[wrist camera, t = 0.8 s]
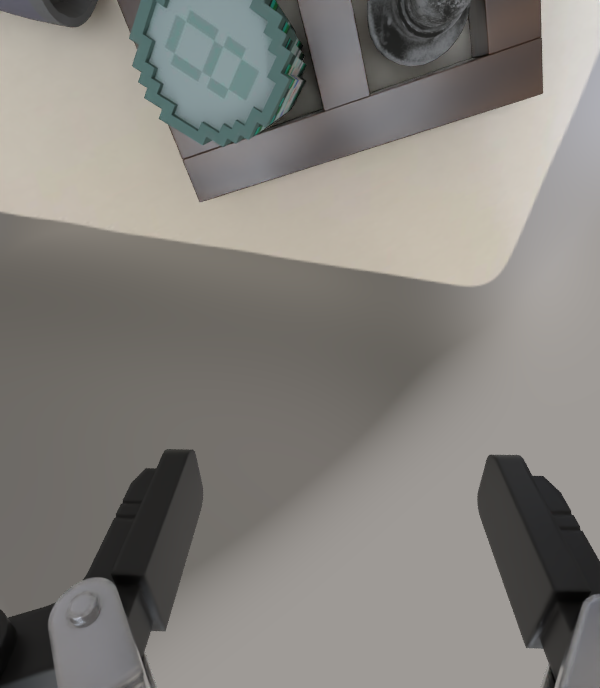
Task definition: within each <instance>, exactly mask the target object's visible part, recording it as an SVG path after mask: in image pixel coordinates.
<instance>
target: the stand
mask: <svg viewBox="0 0 600 688" xmlns="http://www.w3.org/2000/svg"><path fill="white" fill-rule="evenodd" d="M117 1H118V4H119V6H120V8H121V11H122V13H123V16H124V18H125V21H126V23H127V26H128V28H129V30H130V33H131V30H132V27H133V24H134V21H135V17H136V14H137V11H138V8H139V4H140V1H141V0H117ZM297 1H298V5H299V9H300V13H301V18H302V22H303V26H304V30H305V34H306V38H307V42H308V46H309V50H310V54H311V58H312V62H313V66H314V71H315V75H316V79H317V83H318V87H319V91H320V95H321V99H322V103H323V107H324V109H323V110H320V111H317V112H314V113H311V114H308V115H305V116H302V117H299V118H296V119H293V120H291V121H288V122H285V123H282V124H279V125H276V126H273V127H270V128H267V129H264V130H262V131H261V132H259V133H258V134H256V135H255V136H254V137H252V138H251V139H249V140H247V139H246V138H244V139H242V140H241V141H239V142H238V143H236V144H235V143H234V142H231V143H230V144H228V145H226V146H225V147H222V146H220V145H219V144H217V143H216V142H214V141H211V142H209V143H207V144H205V145H203V146H202V145H201V144H199V143H197V142H196V141H194V140H193V139H191V138H189V137H188V136H186V135H185V134H183V133H181V132H180V131H178V130H177V129H175V128H173V127H172V126H170V125H169V128H170V130H171V133H172V135H173V138H174V140H175V143H176V145H177V147H178V150H179V152H180V155H181V157H182V159H183V162H184V165H185V167H186V170H187V172H188V175H189V177H190V180H191V182H192V184H193V187H194V189H195V192H196V194H197V197H198V199H199V201H200V202H203V201H206V200H209V199H212V198H216V197H219V196H222V195H225V194H228V193H231V192H234V191H238V190H241V189H244V188H247V187H250V186H253V185H256V184H260V183H263V182H266V181H269V180H272V179H275V178H279V177H282V176H285V175H288V174H291V173H294V172H297V171H301V170H304V169H307V168H310V167H313V166H316V165H319V164H323V163H326V162H329V161H332V160H335V159H338V158H342V157H345V156H348V155H351V154H354V153H357V152H360V151H364V150H367V149H370V148H373V147H376V146H379V145H382V144H386V143H389V142H392V141H395V140H398V139H401V138H405V137H408V136H411V135H414V134H417V133H420V132H423V131H427V130H430V129H433V128H436V127H439V126H442V125H445V124H449V123H452V122H455V121H458V120H461V119H464V118H468V117H471V116H474V115H477V114H480V113H483V112H486V111H490V110H493V109H496V108H499V107H502V106H505V105H508V104H512V103H515V102H518V101H521V100H524V99H527V98H531V97H534V96H537V95H540V94H542V93H543V76H542V38H541V0H471V5H470V10H469V24H470V36H471V47H472V57H473V58H471V59H468V60H466V61H463V62H460V63H457V64H454V65H451V66H448V67H445V68H442V69H439V70H436V71H433V72H431V73H428V74H425V75H422V76H419V77H416V78H413V79H410V80H407V81H404V82H401V83H398V84H396V85H393V86H390V87H387V88H384V89H381V90H378V91H375V92H372V93H370V92H369V87H368V82H367V77H366V71H365V66H364V61H363V56H362V51H361V46H360V41H359V36H358V30H357V25H356V20H355V15H354V10H353V5H352V0H297ZM134 43H135V42H134ZM135 45H136V47H137V49H138V46H139V45H138V44H137V43H135Z"/></svg>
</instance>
